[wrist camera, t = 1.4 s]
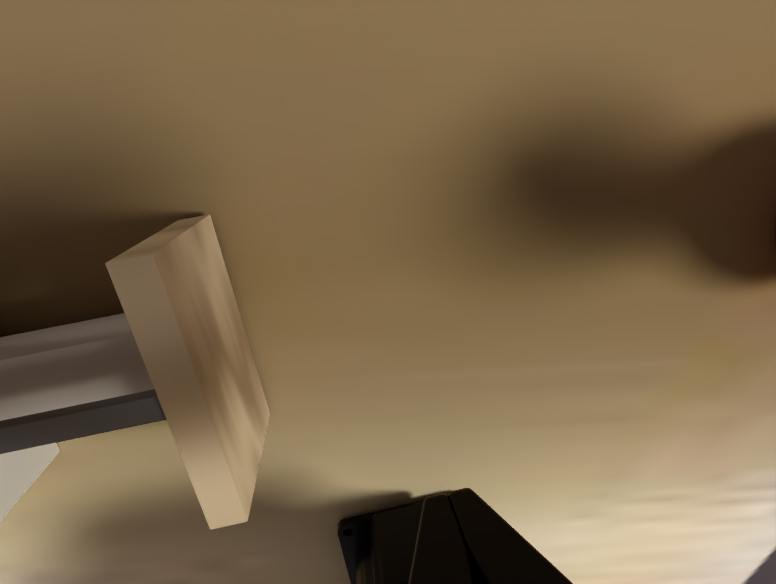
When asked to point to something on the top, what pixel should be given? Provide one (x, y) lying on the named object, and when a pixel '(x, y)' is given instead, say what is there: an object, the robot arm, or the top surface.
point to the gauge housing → (22, 472)
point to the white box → (151, 369)
